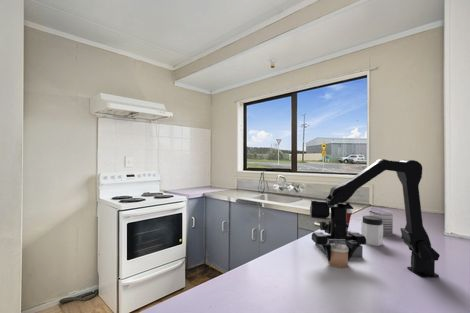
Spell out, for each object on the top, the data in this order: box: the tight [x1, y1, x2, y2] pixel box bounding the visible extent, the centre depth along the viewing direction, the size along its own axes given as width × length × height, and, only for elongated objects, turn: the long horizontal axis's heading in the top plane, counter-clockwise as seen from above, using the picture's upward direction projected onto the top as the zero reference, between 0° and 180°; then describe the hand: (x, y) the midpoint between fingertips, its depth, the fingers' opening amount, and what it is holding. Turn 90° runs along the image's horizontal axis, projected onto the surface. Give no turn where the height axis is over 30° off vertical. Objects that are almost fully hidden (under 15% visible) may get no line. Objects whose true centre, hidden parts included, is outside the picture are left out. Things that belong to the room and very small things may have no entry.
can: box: [368, 207, 395, 237], centre depth 129 cm, size 11×11×12 cm
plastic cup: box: [347, 209, 354, 231], centre depth 131 cm, size 11×11×12 cm
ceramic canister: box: [327, 243, 349, 269], centre depth 89 cm, size 7×7×7 cm
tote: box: [314, 233, 364, 258], centre depth 103 cm, size 14×14×4 cm
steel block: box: [329, 234, 346, 245], centre depth 103 cm, size 5×5×5 cm
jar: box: [360, 215, 384, 247], centre depth 112 cm, size 9×8×12 cm
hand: (337, 260), depth 89 cm, fingers closed on ceramic canister, 7 cm apart
